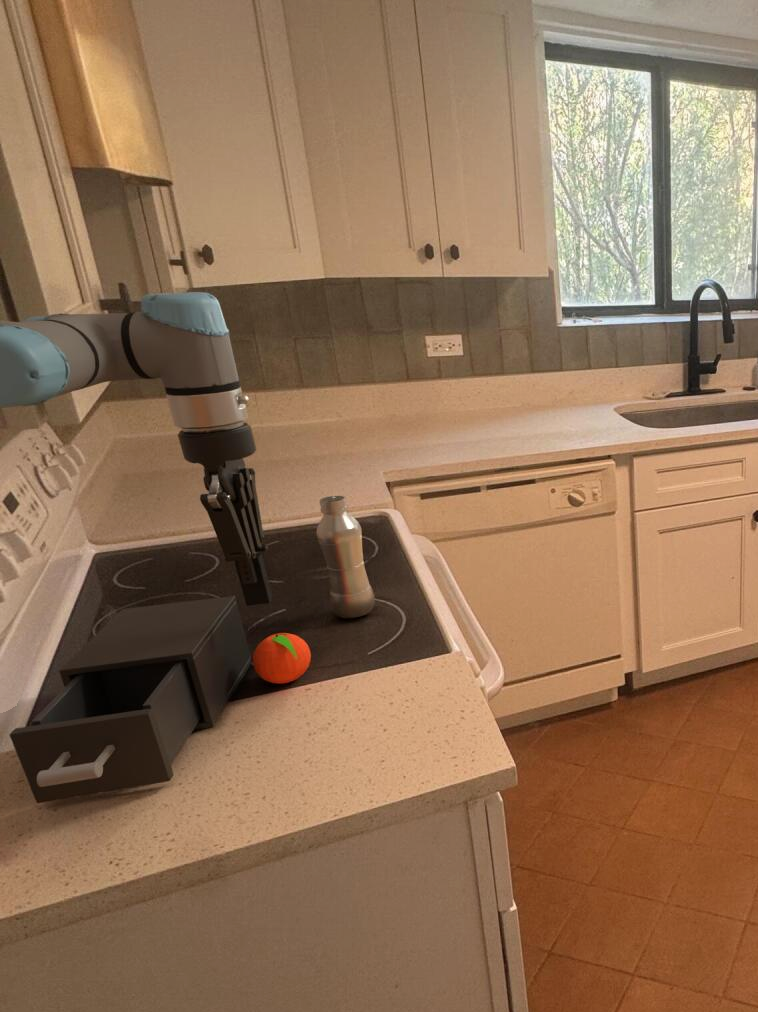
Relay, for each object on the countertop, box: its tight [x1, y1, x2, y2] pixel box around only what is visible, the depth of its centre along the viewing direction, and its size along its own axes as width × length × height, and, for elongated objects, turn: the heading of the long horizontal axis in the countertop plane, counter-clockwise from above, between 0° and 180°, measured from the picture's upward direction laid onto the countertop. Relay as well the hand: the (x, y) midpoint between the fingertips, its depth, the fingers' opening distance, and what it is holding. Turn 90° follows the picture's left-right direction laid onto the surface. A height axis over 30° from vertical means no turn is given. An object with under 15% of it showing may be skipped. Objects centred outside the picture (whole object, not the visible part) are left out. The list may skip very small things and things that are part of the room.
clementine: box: [252, 632, 312, 685], centre depth 108 cm, size 8×7×7 cm
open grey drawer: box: [9, 659, 203, 804], centre depth 89 cm, size 22×12×9 cm, turn 17°
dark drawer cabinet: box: [58, 595, 253, 731], centre depth 103 cm, size 18×14×11 cm
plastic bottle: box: [315, 495, 376, 619], centre depth 126 cm, size 6×7×20 cm
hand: (259, 602), depth 103 cm, fingers closed
